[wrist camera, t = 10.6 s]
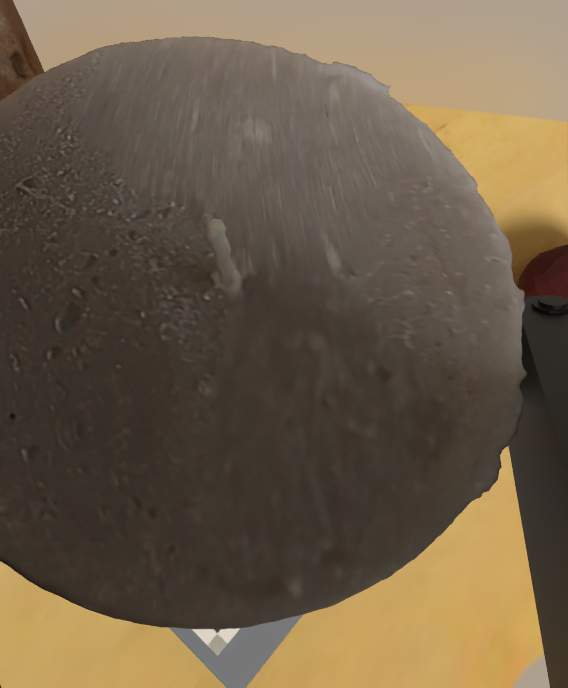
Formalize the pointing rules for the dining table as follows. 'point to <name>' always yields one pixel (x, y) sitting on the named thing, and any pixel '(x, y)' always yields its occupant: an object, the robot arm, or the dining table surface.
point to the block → (15, 51)
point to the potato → (546, 274)
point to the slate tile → (236, 648)
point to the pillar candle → (239, 333)
